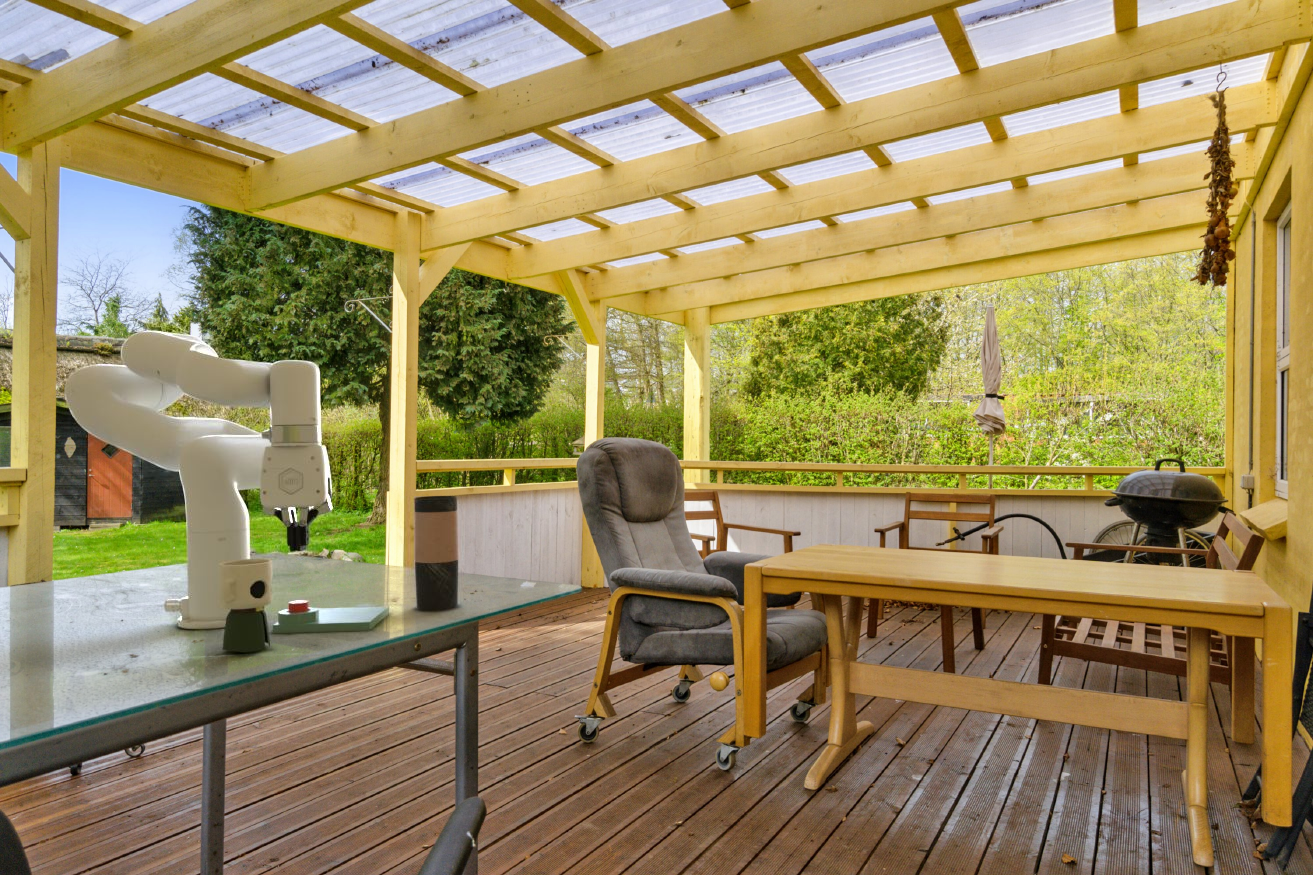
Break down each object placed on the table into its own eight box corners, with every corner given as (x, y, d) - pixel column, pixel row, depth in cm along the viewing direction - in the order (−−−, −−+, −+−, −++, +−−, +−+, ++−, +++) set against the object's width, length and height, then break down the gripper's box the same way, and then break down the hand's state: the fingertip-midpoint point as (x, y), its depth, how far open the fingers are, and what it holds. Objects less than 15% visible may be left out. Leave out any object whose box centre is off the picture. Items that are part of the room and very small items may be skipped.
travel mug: (464, 603, 158) (463, 495, 158) (450, 612, 151) (449, 498, 151) (424, 603, 159) (423, 495, 159) (408, 612, 152) (407, 498, 152)
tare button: (285, 614, 137) (285, 603, 137) (292, 610, 140) (292, 600, 140) (305, 614, 138) (304, 603, 138) (311, 610, 141) (311, 599, 141)
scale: (272, 633, 136) (272, 614, 136) (300, 616, 149) (300, 599, 149) (369, 630, 137) (369, 611, 137) (389, 614, 150) (388, 597, 150)
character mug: (249, 661, 119) (247, 567, 119) (200, 660, 119) (199, 567, 119) (289, 642, 130) (288, 556, 130) (244, 642, 130) (243, 556, 130)
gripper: (239, 438, 135) (241, 554, 135) (336, 436, 136) (338, 552, 136) (257, 438, 142) (259, 548, 142) (350, 436, 143) (352, 546, 143)
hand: (298, 550), depth 139 cm, fingers closed
